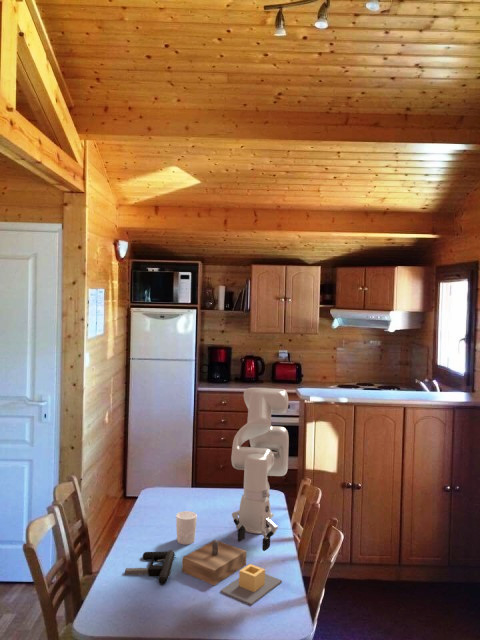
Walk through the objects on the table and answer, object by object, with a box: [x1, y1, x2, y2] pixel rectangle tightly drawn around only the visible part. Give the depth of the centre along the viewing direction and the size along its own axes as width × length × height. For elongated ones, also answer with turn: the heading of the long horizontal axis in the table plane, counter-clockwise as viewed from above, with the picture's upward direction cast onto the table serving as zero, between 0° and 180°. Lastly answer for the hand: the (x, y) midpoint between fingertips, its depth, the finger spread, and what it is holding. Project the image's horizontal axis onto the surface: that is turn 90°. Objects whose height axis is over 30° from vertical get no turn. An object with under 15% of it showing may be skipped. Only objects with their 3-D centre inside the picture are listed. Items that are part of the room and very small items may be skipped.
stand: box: [181, 539, 247, 586], centre depth 186 cm, size 18×14×10 cm
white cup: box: [175, 510, 198, 545], centre depth 207 cm, size 8×8×10 cm
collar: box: [238, 563, 266, 592], centre depth 175 cm, size 6×6×5 cm
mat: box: [219, 573, 283, 606], centre depth 175 cm, size 18×12×1 cm, turn 144°
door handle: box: [124, 549, 176, 585], centre depth 184 cm, size 3×20×16 cm
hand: (253, 544), depth 175 cm, fingers open, 9 cm apart
